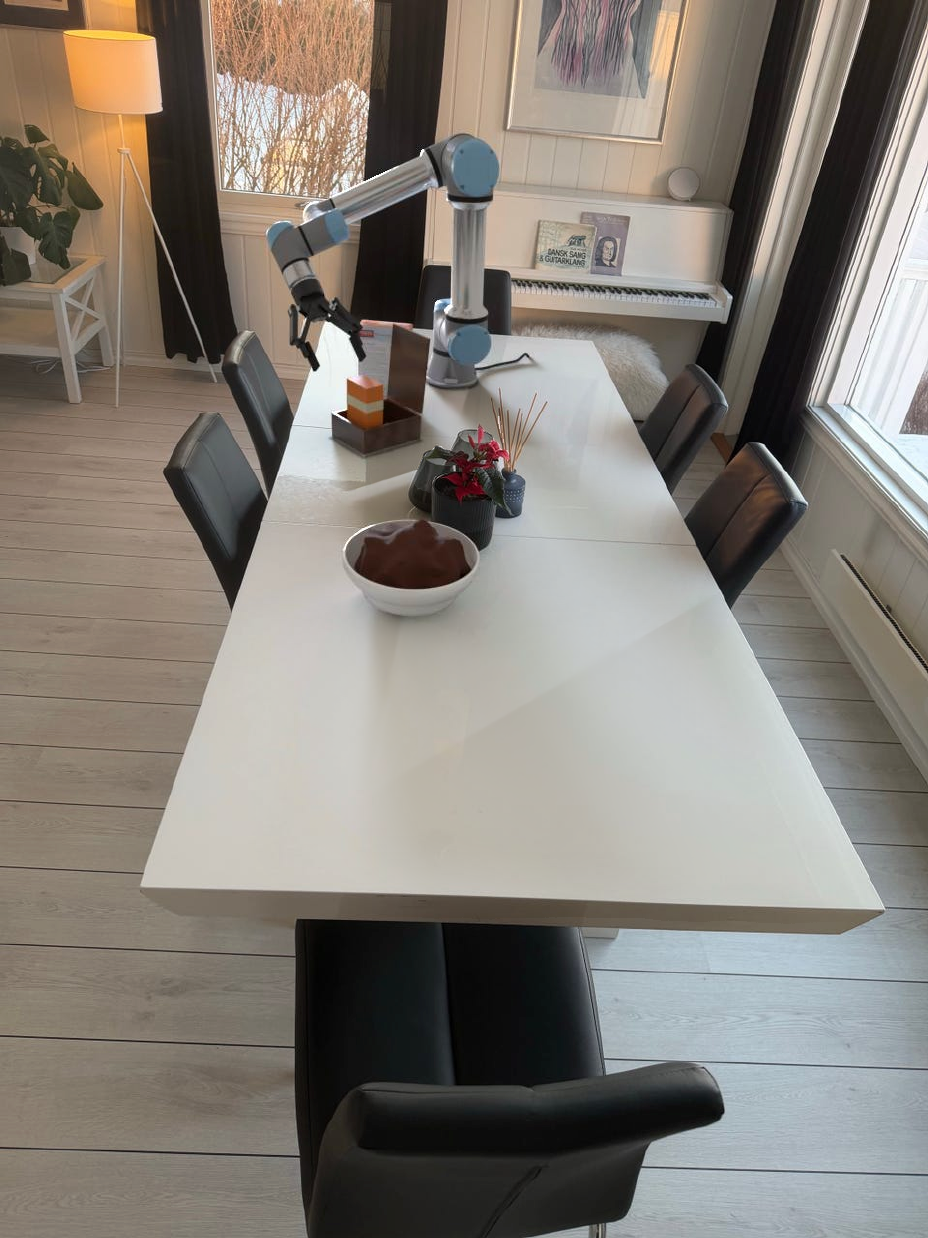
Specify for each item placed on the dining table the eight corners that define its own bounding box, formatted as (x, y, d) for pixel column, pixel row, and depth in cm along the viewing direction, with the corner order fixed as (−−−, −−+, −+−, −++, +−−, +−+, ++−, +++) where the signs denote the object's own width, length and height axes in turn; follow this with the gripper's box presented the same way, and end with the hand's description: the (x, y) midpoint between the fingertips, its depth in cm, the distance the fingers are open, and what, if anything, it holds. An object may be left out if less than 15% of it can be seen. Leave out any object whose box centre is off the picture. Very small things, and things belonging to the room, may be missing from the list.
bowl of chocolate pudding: (357, 555, 169) (356, 486, 161) (482, 568, 168) (488, 500, 160) (329, 628, 149) (326, 554, 140) (470, 643, 148) (476, 570, 139)
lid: (428, 338, 201) (430, 338, 202) (392, 323, 209) (395, 323, 210) (420, 414, 211) (422, 413, 212) (386, 396, 219) (389, 396, 220)
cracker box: (411, 398, 239) (413, 322, 226) (408, 406, 234) (410, 329, 222) (362, 393, 239) (362, 317, 227) (358, 401, 234) (357, 324, 222)
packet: (363, 431, 216) (363, 374, 207) (383, 443, 211) (383, 384, 203) (347, 436, 213) (346, 378, 204) (366, 447, 208) (366, 388, 200)
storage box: (364, 457, 206) (363, 431, 202) (331, 438, 214) (331, 412, 210) (420, 441, 216) (421, 415, 212) (387, 423, 224) (387, 398, 220)
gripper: (340, 287, 219) (374, 362, 219) (254, 300, 204) (291, 380, 204) (352, 270, 212) (387, 347, 212) (264, 282, 198) (302, 365, 198)
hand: (340, 364), depth 208 cm, fingers open, 13 cm apart
